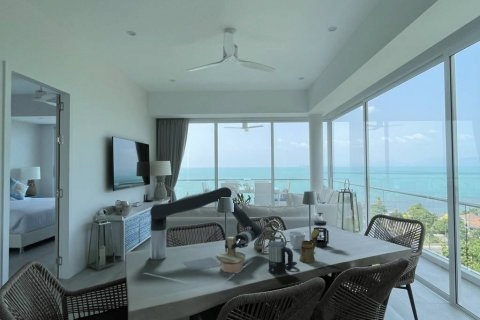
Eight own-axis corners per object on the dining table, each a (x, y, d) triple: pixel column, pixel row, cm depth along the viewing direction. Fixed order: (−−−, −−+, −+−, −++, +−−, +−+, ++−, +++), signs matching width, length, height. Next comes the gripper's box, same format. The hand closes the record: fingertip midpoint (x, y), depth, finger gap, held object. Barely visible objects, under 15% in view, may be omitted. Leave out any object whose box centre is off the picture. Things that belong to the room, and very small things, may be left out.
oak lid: (237, 264, 137) (237, 242, 137) (212, 260, 144) (212, 239, 144) (249, 256, 150) (249, 235, 151) (226, 252, 157) (226, 232, 157)
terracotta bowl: (226, 275, 139) (226, 265, 139) (218, 268, 149) (218, 259, 149) (245, 271, 144) (245, 262, 145) (236, 264, 154) (236, 255, 155)
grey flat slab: (190, 273, 142) (190, 271, 142) (182, 263, 157) (182, 262, 157) (222, 267, 151) (222, 265, 151) (211, 258, 165) (211, 257, 165)
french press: (309, 245, 192) (309, 212, 193) (318, 243, 197) (318, 211, 198) (323, 249, 182) (323, 214, 183) (332, 246, 188) (331, 213, 188)
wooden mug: (324, 260, 161) (323, 229, 161) (306, 264, 155) (305, 232, 155) (313, 256, 169) (313, 226, 169) (296, 259, 163) (296, 229, 163)
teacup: (285, 251, 179) (285, 235, 179) (290, 244, 193) (289, 230, 193) (304, 253, 175) (303, 237, 175) (307, 246, 188) (307, 232, 189)
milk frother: (265, 273, 142) (265, 244, 142) (273, 263, 157) (273, 237, 157) (293, 277, 137) (292, 247, 137) (298, 266, 152) (297, 239, 152)
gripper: (232, 231, 163) (217, 238, 148) (254, 234, 157) (240, 241, 141) (232, 244, 163) (217, 252, 148) (254, 247, 157) (240, 256, 141)
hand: (229, 247), depth 145 cm, fingers closed on oak lid, 3 cm apart
